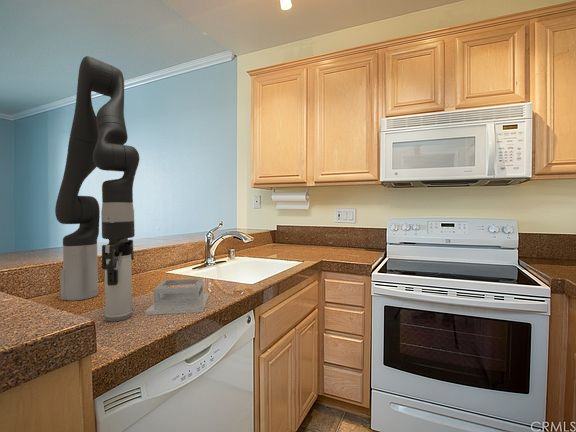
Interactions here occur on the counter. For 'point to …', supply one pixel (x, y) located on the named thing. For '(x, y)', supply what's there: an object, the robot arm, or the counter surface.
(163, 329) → the counter surface
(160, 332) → the counter surface
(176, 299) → the collar stand
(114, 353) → the counter surface
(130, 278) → the travel mug
